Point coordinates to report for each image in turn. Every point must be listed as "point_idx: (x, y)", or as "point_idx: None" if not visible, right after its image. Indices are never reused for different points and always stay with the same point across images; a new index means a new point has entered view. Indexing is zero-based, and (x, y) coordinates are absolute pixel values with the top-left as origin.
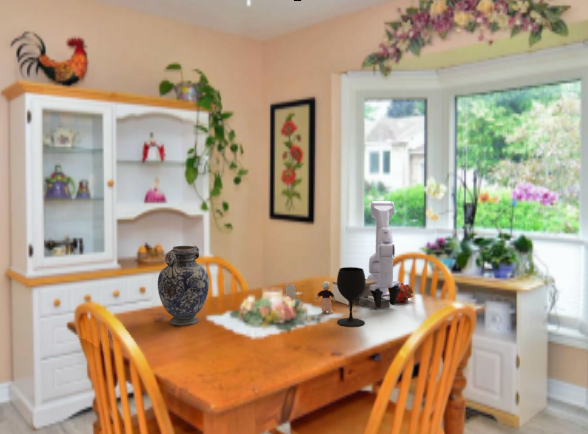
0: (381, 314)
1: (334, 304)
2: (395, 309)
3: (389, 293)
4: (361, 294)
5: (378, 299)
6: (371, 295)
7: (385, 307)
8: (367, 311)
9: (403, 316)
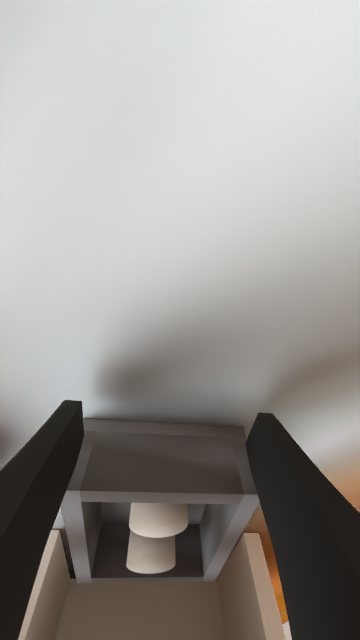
0: (355, 312)
1: None
2: (95, 347)
3: (31, 589)
4: (66, 587)
5: (350, 509)
6: (109, 578)
7: (129, 422)
8: (328, 422)
9: (281, 43)
